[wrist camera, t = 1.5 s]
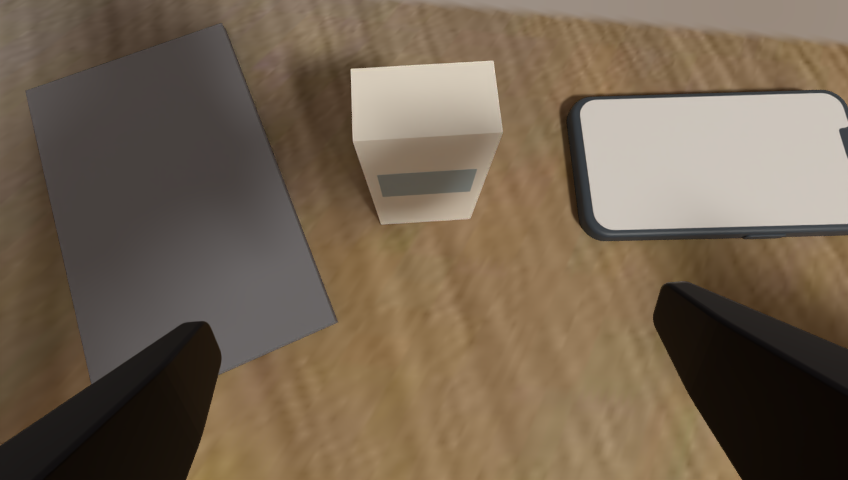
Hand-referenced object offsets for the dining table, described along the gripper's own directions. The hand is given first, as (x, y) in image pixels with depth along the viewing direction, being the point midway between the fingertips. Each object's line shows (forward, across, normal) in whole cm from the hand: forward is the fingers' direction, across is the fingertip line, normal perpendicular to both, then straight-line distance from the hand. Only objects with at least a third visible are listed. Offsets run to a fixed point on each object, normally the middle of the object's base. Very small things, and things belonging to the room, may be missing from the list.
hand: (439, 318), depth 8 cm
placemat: (+16, +14, +3) cm, 21 cm away
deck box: (+15, 0, +4) cm, 15 cm away
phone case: (+16, -17, +4) cm, 24 cm away
